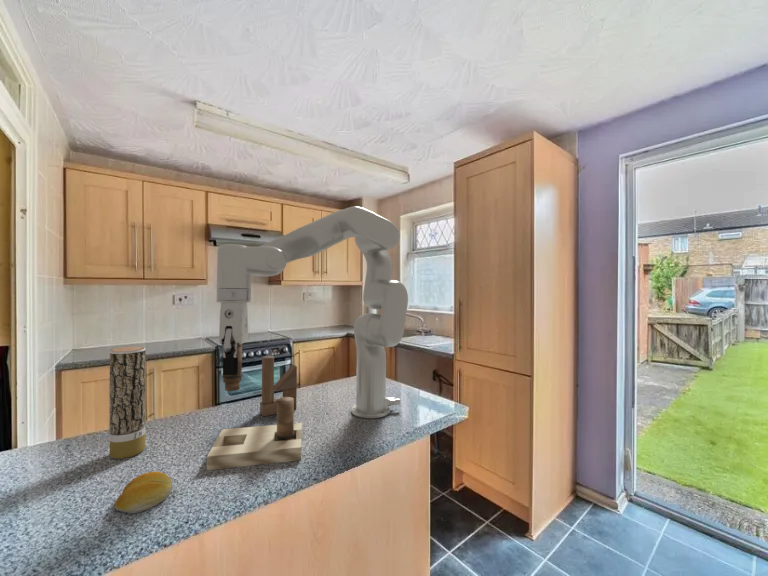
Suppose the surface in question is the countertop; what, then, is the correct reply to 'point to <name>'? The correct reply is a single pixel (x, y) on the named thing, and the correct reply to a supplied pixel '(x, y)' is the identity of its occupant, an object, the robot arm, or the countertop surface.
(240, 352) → the walnut peg
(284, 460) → the socket board
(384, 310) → the robot arm
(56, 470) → the countertop surface
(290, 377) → the brown wooden angled piece
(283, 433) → the seated peg
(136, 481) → the bread roll
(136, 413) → the paper tube
